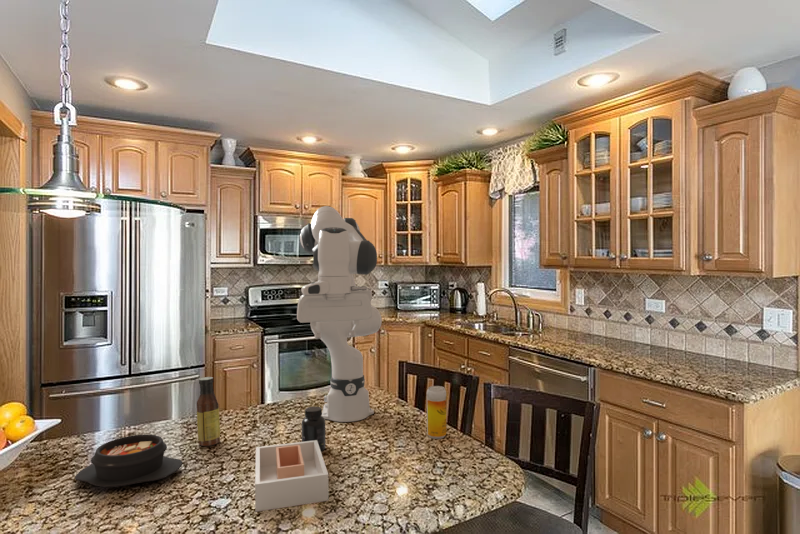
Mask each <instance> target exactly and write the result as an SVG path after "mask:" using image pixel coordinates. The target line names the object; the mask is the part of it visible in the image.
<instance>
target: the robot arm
mask: <svg viewBox="0 0 800 534" xmlns="http://www.w3.org/2000/svg"><path fill="white" fill-rule="evenodd" d="M311 218H312V219H311V222H308V223H307V225H305V226H303V227H302V229H300V234H299V241H300V245H301V247H302V248H303V250H304V251H305V252H306V253H308V254H313V256H312V257H313V259H312V260H313V261H312V262H313V263H312V267H313V269H314V270H316V271H317V272H318V274H317V281H313V282H311V283H308V284H305V285H303V286H302V287H301V289H300V290H301V294H302V295H300V297H299V298H298V302H297V307H296V319H297V322H299V323H300V324H301V323H302V324H304V323H310V324H309V326H310V329H311V332H312V333H313V335H314V339H315V340H321V342H323V344H324V345H325V346H326V348H327V349H328V351H329V354H330V361H331V362H330V364H331V376H330V382H329V383H330V389H329V391H328V394H327V395H324V396H323V401H324V404H323V408H322V415H321V416H322V417H323V418H324V419H325V420H330V421H333V422H340V423H346V422H347V423H349V422H357V421H361V420H364V419H366V418H368V417H369V416H371V415H373V414H374V413H375V409H372V408H371V407H370V393H369V390H368V389H367V388H366V387H365V385H366V384H365V382H366V381H365V375H364V356H363V354H362V352H361V351H360V350H359V349H358V348H356V347H354V346H352V345H349V343H348V338H356V337H357V338H358V337H366V336H369V335H373V334H376V333H377V332H379V331H380V329H381V327H382V323H383V322H382V321H383V320H382V315H381V314H382V313H381V312H380V311H379V309H378V308H377V307H375V306H373V305H372V302H371V301H372V299H373V292H372V290H371V288H370V287H367V286H366V285H365V286H364V285H362V286H357V285H356V281H355V277H354V275H364V276H367V275H369V274H371V272H373V271H374V270H375V269H376V268H377V264H378V253H377V248H376V247H375V245H374V244H373V243H372V242H371V241H370V240H367V239H366V237H365V236H364V235H363V233H362V232H361V229H360V225H359V224H358V223H357V222H356V220H355V218H353V217H344V218H343V217H342V216H341V214H340V212H338V210H337V209H336V208H334V207H332V206H328V205H325V206H320V207H319V208H317V209H316V210H315V212H314V214H313V216H312V217H311Z"/></svg>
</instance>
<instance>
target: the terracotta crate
mask: <svg viewBox="0 0 800 534" xmlns="http://www.w3.org/2000/svg"><path fill="white" fill-rule="evenodd" d="M276 473H277V479H284V478H291V477H299V476H304V462H303V457H302V453H301V448H300V445H293V446H284V447H276Z"/></svg>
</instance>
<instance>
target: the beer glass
mask: <svg viewBox="0 0 800 534" xmlns="http://www.w3.org/2000/svg"><path fill="white" fill-rule="evenodd" d="M447 429H448V428H447V391H446V389H445V387H444V386H441V385H431V386H428V387H427V390H426V434H427V435H428V437H429V438H431V439H435V440H440V439H444V438H446V437H445V436H446V435H447Z"/></svg>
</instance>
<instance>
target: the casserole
mask: <svg viewBox="0 0 800 534" xmlns="http://www.w3.org/2000/svg"><path fill="white" fill-rule="evenodd" d="M167 449H168V445H167V444H166V443H165V442H164V439H163V438H162V437H161V436H160V435H155V434H137V435H129V436H124V437H120V438H116V439H112V440H109V441H107V442H105V443H102V444H101V445H99V446H98V447H97V448H96V449H95V452H94V454H93V456H92V457H91V458H90V463H91V464H90V465H87V466H86V467H84V468H83V469H81V470H80V471H78V472H77V474H76V475H75V476H74V479H75V480H76V481H78V482H79V481H80V482H83V483H88V484H90V485H93V486H95V487H101V488H102V487H103V488H113V487H114V488H115V487H117V488H118V487H126V486H131V485H132V486H133V485H135V484H136V485H137V484H139V483H147V482H153V481H154V482H155V481H159V480H162V479H165V478H167V477H169V476H170V475H172V474H174V473H176V472H177V471H178V470H180V469H181V468H182V466H183V461H182V460H181V459H179V458H173V457H168V456H165V452H166V450H167Z"/></svg>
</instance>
